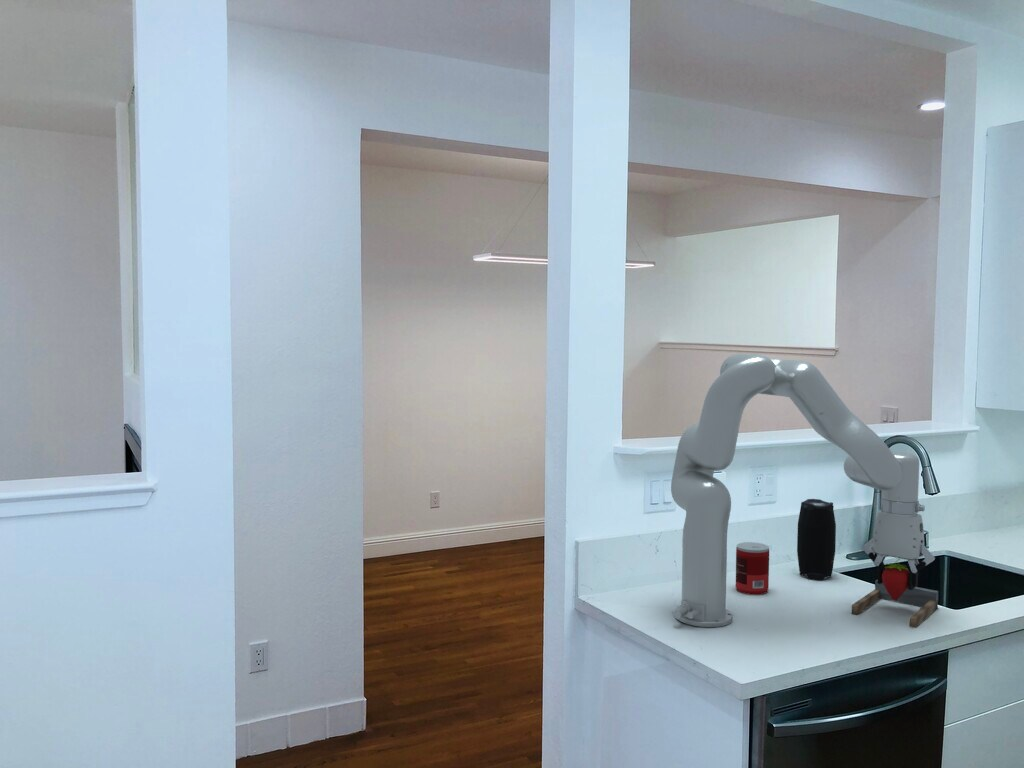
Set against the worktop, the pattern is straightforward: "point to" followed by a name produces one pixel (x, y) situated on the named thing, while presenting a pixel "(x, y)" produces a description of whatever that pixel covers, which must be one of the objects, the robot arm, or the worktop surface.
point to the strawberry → (895, 579)
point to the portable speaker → (816, 539)
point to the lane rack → (902, 601)
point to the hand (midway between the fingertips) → (896, 584)
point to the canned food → (752, 568)
